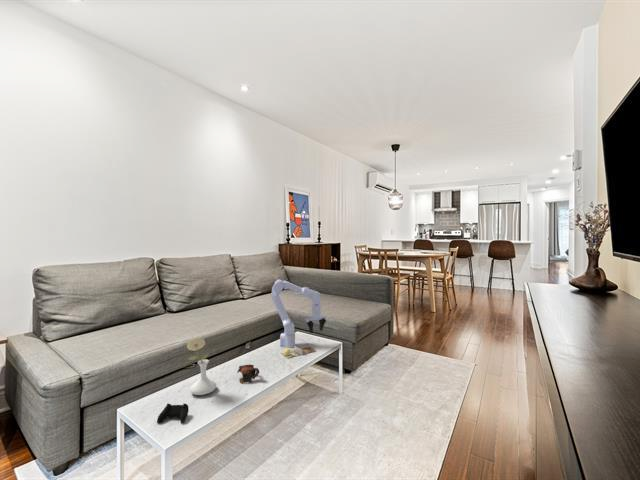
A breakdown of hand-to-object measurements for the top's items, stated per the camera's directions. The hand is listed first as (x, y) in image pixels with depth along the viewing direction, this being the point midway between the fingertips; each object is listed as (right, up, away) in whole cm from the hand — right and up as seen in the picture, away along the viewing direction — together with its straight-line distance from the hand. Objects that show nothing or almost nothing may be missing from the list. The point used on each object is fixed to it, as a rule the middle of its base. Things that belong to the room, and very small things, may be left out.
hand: (316, 331), depth 197 cm
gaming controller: (-55, -11, -77) cm, 96 cm away
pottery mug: (-33, -11, -44) cm, 57 cm away
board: (-11, -10, -13) cm, 20 cm away
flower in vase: (-52, -11, -57) cm, 78 cm away
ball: (-16, -8, -17) cm, 24 cm away
